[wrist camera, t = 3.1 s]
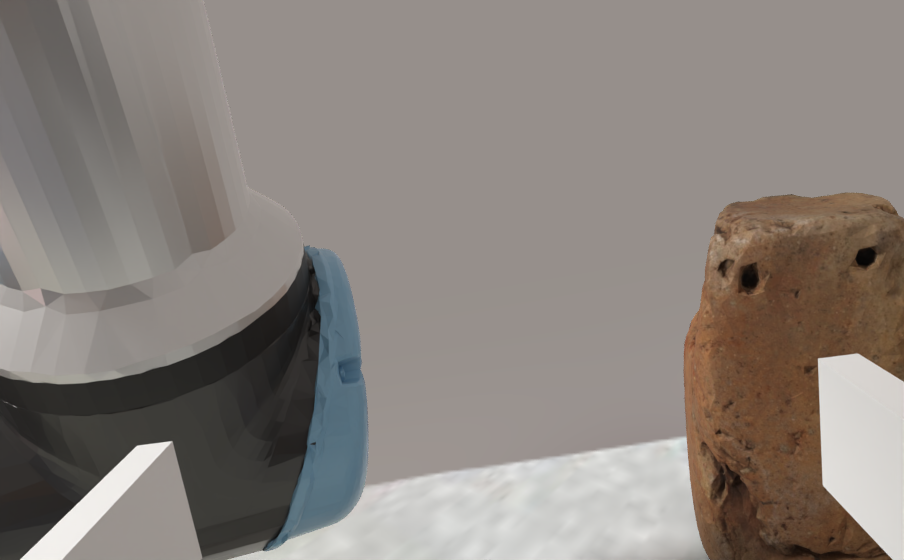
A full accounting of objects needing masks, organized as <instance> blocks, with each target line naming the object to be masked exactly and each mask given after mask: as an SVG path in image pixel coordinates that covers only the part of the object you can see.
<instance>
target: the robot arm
mask: <svg viewBox="0 0 904 560" xmlns="http://www.w3.org/2000/svg"><path fill="white" fill-rule="evenodd" d="M360 367H361V347H360V335H359V327H358V321H357V316H356V311H355V306H354V301H353V296H352V292H351V288H350V284H349V281H348V278H347V274H346V272H345V269H344V267H343V264H342V262H341V260H340V258H339V257H338V256H337V255H336V254H335V253H334V252H333V251H331V250H328V249H317V248H315V247H310V246H306V247H304V244H303V238H302V234H301V231H300V228H299V225H298V223H297V222H296V221H295V219H294V217H293V216H292V215H291V214H290V213H289V212H288V211H287V209H286V208H284V207H283V206H281V205H280V204H278V203H277V202H275V201H274V200H272V199H270V198H268V197H266V196H264V195H262V194H260V193H258V192H256V191H254V190H253V189H251V188H248V186H247V182H246V178H245V173H244V169H243V165H242V161H241V157H240V152H239V148H238V144H237V139H236V135H235V132H234V127H233V123H232V118H231V114H230V110H229V106H228V101H227V97H226V93H225V89H224V84H223V80H222V76H221V72H220V68H219V64H218V59H217V55H216V51H215V46H214V42H213V38H212V33H211V29H210V25H209V21H208V16H207V13H206V8H205V4H204V0H0V560H227V559H231V558H234V557H238V556H242V555H246V554H250V553H254V552H257V551H261V550H263V551H269V550H273V549H276V548H278V547H279V546H281V545H282V544H283V543H284V542H285V541H287V540H288V539H291V538H294V537H297V536H300V535H303V534H306V533H309V532H312V531H315V530H318V529H321V528H324V527H326V526H329V525H332V524H335V523H337V522H339V521H340V520H342V519H343V518H345V517H346V516H347V515H348V514H349V513H350V512H351V511H352V509H353V508H354V507H355V506H356V504H357V502H358V501H359V499H360V497H361V494H362V492H363V489H364V485H365V480H366V474H367V465H368V411H367V399H366V388H365V381H364V378H363V374H362V372H361V370H360ZM818 376H819V402H820V429H821V455H822V481H823V486H824V487H825V488H826V489H827V491H828V492H829V493H830V494H831V495H832V496H833V497H834V498H835V499H836V500H837V501H838V502H839V503H840V504H841V505H842V506H843V508H844V509H845V510H846V511H847V512H848V513H849V514H850V515H851V516H852V517H853V518H854V519H855V520H856V521H857V522H858V523H859V525H860V526H861V527H862V528H863V529H864V530H865V531H866V532H867V533H868V534H869V535H870V536H871V537H872V538H873V539H874V540H875V542H876V543H877V544H878V545H879V546H880V547H881V548H882V549H883V550H884V551H885V552H886V553H887V554H888V555H889V556H890V557H891V559H892V560H904V382H903V381H902V380H900V379H898V378H897V377H895V376H894V375H892V374H890V373H889V372H887V371H885V370H884V369H882V368H881V367H879V366H877V365H876V364H874V363H873V362H871V361H869V360H868V359H866V358H864V357H863V356H861V355H860V354H858V353H857V354H850V355H842V356H834V357H826V358H818Z"/></svg>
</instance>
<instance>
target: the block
mask: <svg viewBox="0 0 904 560" xmlns="http://www.w3.org/2000/svg"><path fill="white" fill-rule="evenodd" d="M684 346H685V349H684V387H685V412H686V431H687V447H688V459H689V470H690V481H691V489H692V496H693V504H694V510H695V516H696V521H697V526H698V530H699V534H700V538H701V541H702V544H703V548H704V549H705V551H706V553H707V555H708V557H709V559H710V560H892V559H891V557H890V556H889V555H888V554H887V553H886V552H885V551H884V550H883V549H882V548H881V547H880V546H879V545H878V544H877V543H876V542H875V540H874V539H873V538H872V537H871V536H870V535H869V534H868V533H867V532H866V531H865V530H864V529H863V528H862V527H861V526H860V525H859V523H858V522H857V521H856V520H855V519H854V518H853V517H852V516H851V515H850V514H849V513H848V512H847V511H846V510H845V509H844V508H843V506H842V505H841V504H840V503H839V502H838V501H837V500H836V499H835V498H834V497H833V496H832V495H831V494H830V493H829V492H828V491H827V489H826V488H825V487H824V486H823V481H822V455H821V429H820V402H819V376H818V358H826V357H834V356H842V355H850V354H857V353H858V354H860V355H861V356H863V357H864V358H866V359H868V360H869V361H871V362H873V363H874V364H876V365H877V366H879V367H881V368H882V369H884V370H885V371H887V372H889V373H890V374H892V375H894V376H895V377H897V378H898V379H900V380H902V381H903V382H904V219H903V218H902V217H900V216H898V214H897V211H896V210H895V209H894V207H893V206H892V205H891V203H890V202H889V201H888V200H886V199H884V198H882V197H878V196H873V195H868V194H863V193H840V194H835V195H829V196H821V197H814V198H809V197H800V196H796V195H792V194H791V195H781V196H770V197H763V198H760V199H757V200H755V201H749V202H735V203H731V204H729V205H727V206H726V207H725V208H724V210H723V211H722V212H721V213H720V214H719V217H718V219H717V221H716V225H715V233H714V236H712V237H711V240H710V245H709V250H708V255H707V262H706V267H705V281H704V285H703V288H702V296H701V304H700V309H699V311H698V312H697V313H696V315H695V316H694V318H693V320H692V321H691V325H690V328H689V331H688V334H687V336H686V340H685V344H684Z"/></svg>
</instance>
